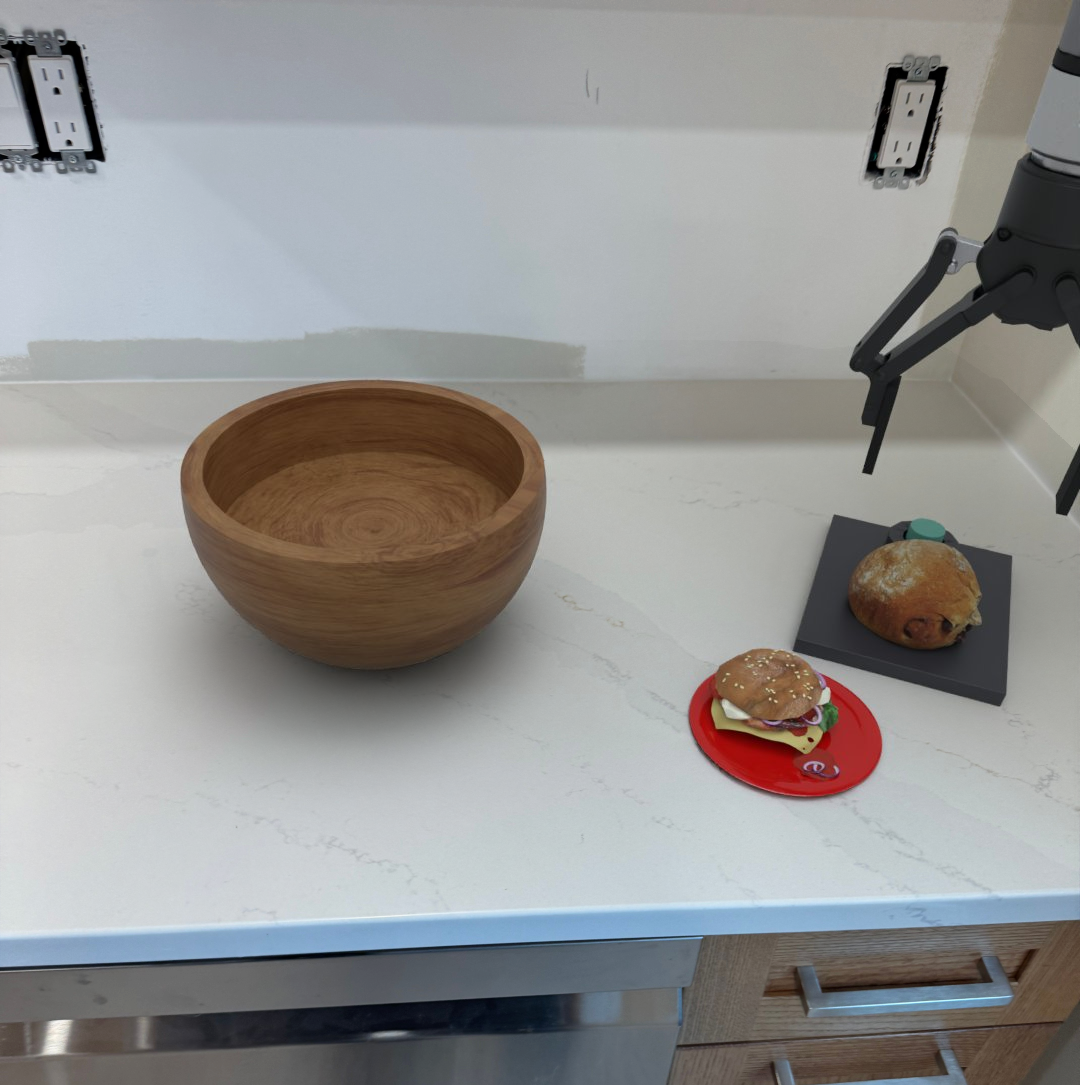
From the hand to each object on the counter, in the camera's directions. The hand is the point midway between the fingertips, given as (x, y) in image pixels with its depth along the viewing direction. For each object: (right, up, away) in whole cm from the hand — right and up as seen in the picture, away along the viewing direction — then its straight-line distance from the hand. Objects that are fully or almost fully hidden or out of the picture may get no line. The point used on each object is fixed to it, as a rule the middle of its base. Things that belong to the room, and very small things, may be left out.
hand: (962, 485), depth 70 cm
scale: (0, -8, +11) cm, 14 cm away
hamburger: (-13, -18, 0) cm, 22 cm away
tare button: (+3, -2, +14) cm, 14 cm away
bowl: (-44, -10, +6) cm, 45 cm away
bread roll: (-1, -9, +8) cm, 12 cm away
